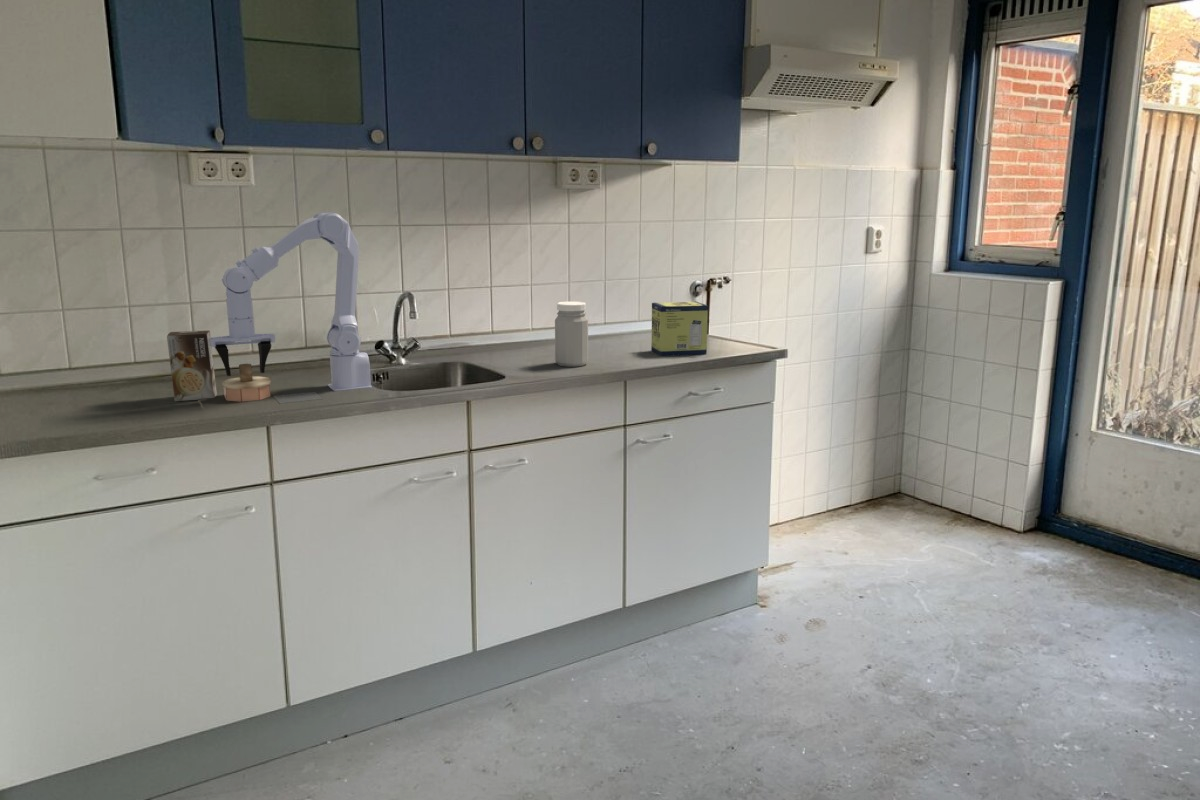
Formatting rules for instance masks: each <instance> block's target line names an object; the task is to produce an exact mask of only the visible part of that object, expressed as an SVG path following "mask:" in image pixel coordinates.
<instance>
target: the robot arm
mask: <svg viewBox="0 0 1200 800" xmlns="http://www.w3.org/2000/svg"><path fill="white" fill-rule="evenodd" d="M354 235H355V234H354V233H353V231H352V229H351V227H350V223H349V222H348V221H347V220H346V219H344V218H343V217H342V216H341V215H340V214H339V213H335V212H326V211H321V212H318V213H315V215H314V216H313V217H309V218H307V219H306V220H304V221H302V222H300V223H299V224H298V225H297V226H296V227H294V228H293V229H292V230H291V231H289V232H288V233H287V234H285V235H284V236H283V237H282V238H280V239H279V240H277V241H276V242H275V243H274V244H272V245H270V246H269V247H268V246H259V248H258V247H254V248H253V249H252V250H251V251H252V253H250V254H248V255H247V256H246V257H245V258H243V259H242V260H237V261H236V262H235V265H236V266H232V267H229V268H228V269H226V270H224V272H223V275H222V279H221V281H222V284H223V286H224V287H225V296H226V298H225V302H226V310H227V311H226V313H227V323H228V335H223V336H217V337H214V336H213V337H210V338H209V341H210V346H211V348H213V347H214V349H215V350H216V352H217V354H218V355H219V357H220V360H221V362H222V363H223V366H224V369H225V373H226V376H227V377H231V375H232V374H231V366H230V360H229V357H230V356H229V349H228V346H233V345H234V346H235V345H236V346H237V345H238V346H239V345H248V344H249V345H250V344H257V349H258V356H259V357H258V358H259V372H260V374H265V371H266V370H265V369H266V364H267V363H266V362H267V360H268V359H267V358H268V356H269V353H270V352H271V349H272V343H276V336H275V335H276V334H274V333H256V332H255V330H256V329H255V319H254V318H255V317H254V308H253V298H252V293H251V289H252V287H253V284H254V282H258V281H259V280H260V279H262V278H263V277H265V276H266V275H267V274H269V273H270V272H272V270H275V269H276V268H277V267H278V266H279V259H280V258H282V257H283V256H284V255H286V254H287V253H289V252H291V251H292V250H293V249H295V248H297V247H298V246H299V245H301V244H302V243H304V242H306V241H307V240H318V239H319V240H320V239H322V240H324V241H326V242H328V244H329V245H331V247H332V248H333V249H334V250H335V251H336V252H337V260H336V261H337V262H336V281H335V296H334V297H335V298H334V299H335V300H334V314H333V316H332V319H331V325H330V328H329V330H328V332H327V334H326V341H327V344H328V345H329V346H330V347H331V349H330V351H329V363H330V377H331V383H329V384H328V383H327V386H328V387H329V388H330V389H331V390H332V391H334V392H337V391H348V390H357V389H358V390H359V389H369V388H370V389H371V388H372V387H373V386H372V384H371V383H372V382H371V365H370V364H371V363H370V358H369V355H368V353H367V352H364V351H363V352H362V351H361V352H360V350H359V349H360V347H361V344H362V343H361V337H360V335H359V331H358V327H359V325H358V322H357V318H356V308H357V307H356V306H357V305H356V304H357V292H358V289H357V288H358V277H359V276H358V272H359V259H360V258H359V255H360V245H359V243H358V241H357V238H356V237H355V236H354Z"/></svg>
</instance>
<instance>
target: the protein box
mask: <svg viewBox="0 0 1200 800" xmlns="http://www.w3.org/2000/svg"><path fill="white" fill-rule="evenodd" d="M708 309H709V307H708V305H706V304H704V303H702V302H699V301H695V300H694V301H676V302H675V301H672V302H670V301H669V302H651V346H650V347H651V348H650V351H652V352H653V353H654V354H656V355H658V356H660V357H670V356H671V357H672V356H673V357H674V356H696V355H697V356H699V355H707V351H708V350H707V349H708V347H707V346H708V318H709V317H708V315H709V314H708V312H709V311H708Z"/></svg>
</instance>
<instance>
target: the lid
mask: <svg viewBox="0 0 1200 800" xmlns="http://www.w3.org/2000/svg"><path fill="white" fill-rule="evenodd" d="M238 369H239V370H238V372H239V377H234V378H228V379H225V380H223V381H221V387H222V388H223V389H224V388H229V389H249V388H257V387H263V386H266V385H269V384H270V385H271V384H272V383H271V381H272V380H271V378H270V377H267V376H266V377H265V376H258V375H257V376H254V375H253V371H252V369H253V368H252V363H240V364H238Z"/></svg>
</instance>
